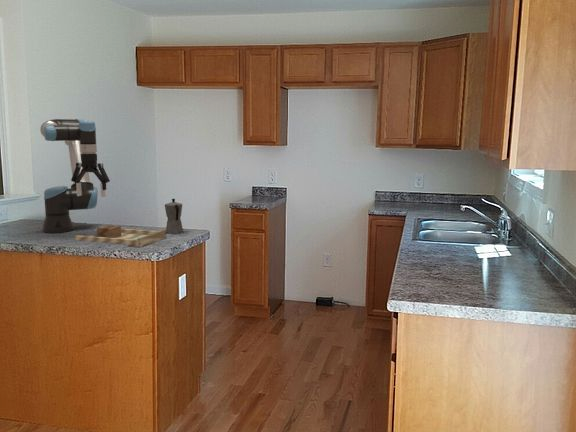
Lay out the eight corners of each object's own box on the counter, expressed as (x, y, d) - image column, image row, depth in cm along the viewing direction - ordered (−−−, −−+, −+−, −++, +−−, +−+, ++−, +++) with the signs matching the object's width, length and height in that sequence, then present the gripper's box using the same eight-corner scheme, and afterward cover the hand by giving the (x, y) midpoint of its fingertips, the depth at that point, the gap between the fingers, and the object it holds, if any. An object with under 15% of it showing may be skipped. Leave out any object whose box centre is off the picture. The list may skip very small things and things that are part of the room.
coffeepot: (162, 230, 285) (161, 197, 282) (180, 229, 289) (179, 196, 286) (169, 236, 271) (168, 201, 268) (187, 234, 275) (186, 200, 272)
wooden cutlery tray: (75, 242, 256) (74, 233, 256) (105, 233, 278) (104, 225, 278) (140, 247, 246) (140, 238, 245) (166, 237, 268) (166, 229, 267)
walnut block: (97, 237, 261) (97, 227, 261) (107, 234, 269) (107, 225, 268) (111, 238, 259) (111, 228, 258) (121, 235, 267) (120, 226, 266)
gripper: (61, 153, 260) (64, 196, 263) (106, 153, 254) (108, 198, 257) (71, 152, 267) (74, 194, 271) (115, 153, 261) (117, 196, 264)
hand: (91, 196), depth 264 cm, fingers open, 13 cm apart
